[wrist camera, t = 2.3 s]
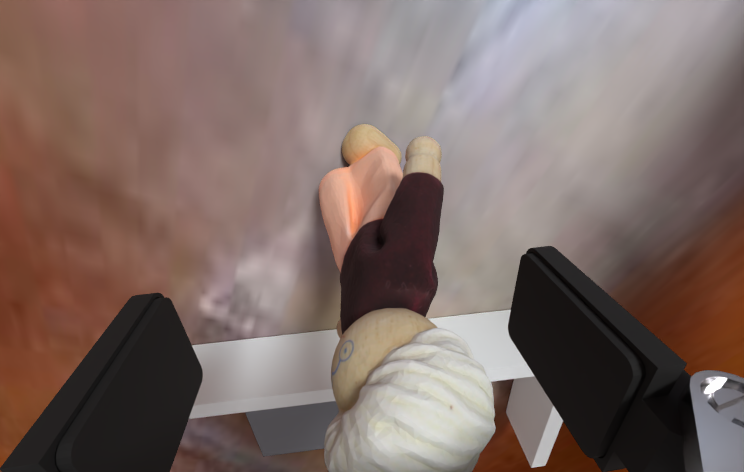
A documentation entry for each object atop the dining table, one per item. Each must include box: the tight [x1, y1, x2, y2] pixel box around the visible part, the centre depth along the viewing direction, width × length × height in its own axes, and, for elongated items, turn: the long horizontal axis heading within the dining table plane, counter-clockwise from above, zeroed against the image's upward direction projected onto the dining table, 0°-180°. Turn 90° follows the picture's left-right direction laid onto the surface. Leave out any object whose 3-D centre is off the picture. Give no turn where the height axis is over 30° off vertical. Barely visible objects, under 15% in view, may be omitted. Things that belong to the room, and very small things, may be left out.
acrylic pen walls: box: [189, 310, 563, 468], centre depth 22 cm, size 24×11×4 cm, turn 93°
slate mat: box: [245, 401, 339, 456], centre depth 24 cm, size 10×10×1 cm
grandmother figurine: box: [319, 124, 496, 472], centre depth 11 cm, size 8×4×13 cm, turn 172°
